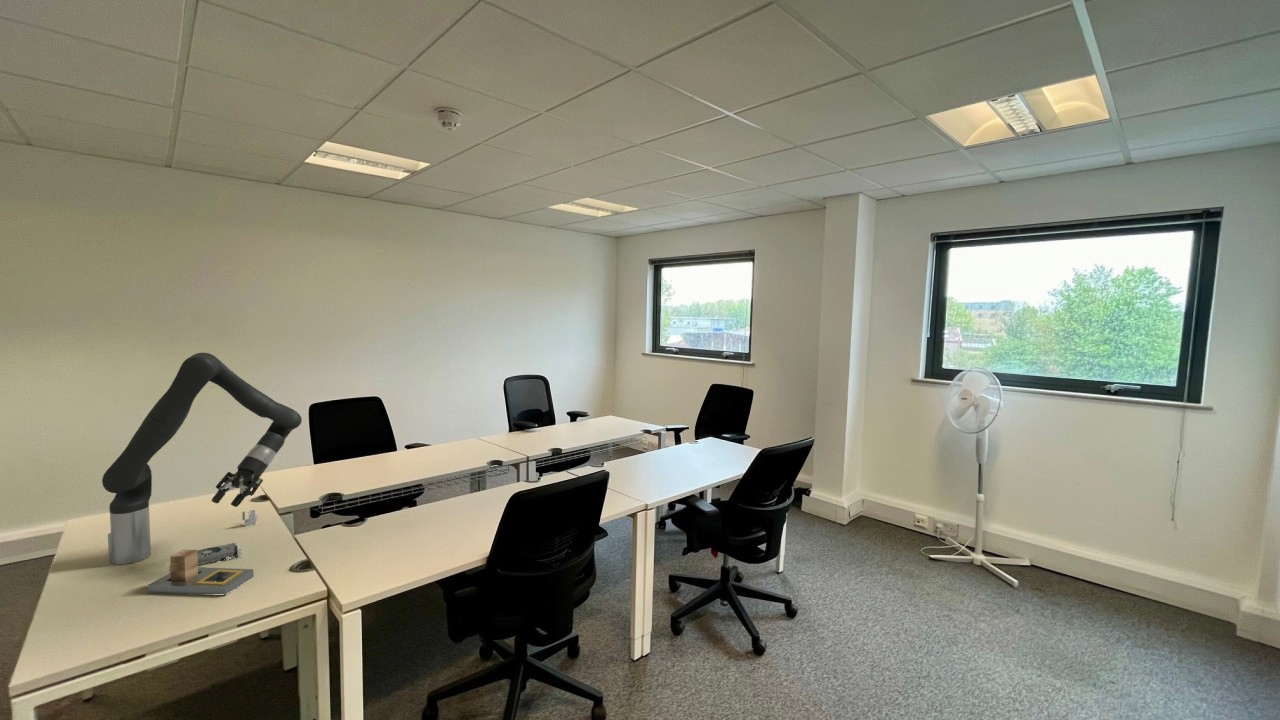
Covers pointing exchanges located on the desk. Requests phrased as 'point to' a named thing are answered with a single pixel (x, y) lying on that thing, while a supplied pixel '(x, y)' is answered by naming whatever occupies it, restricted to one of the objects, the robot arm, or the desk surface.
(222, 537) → the desk surface
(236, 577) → the square hole plate
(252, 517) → the small white bracket
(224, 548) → the graphics card
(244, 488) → the robot arm
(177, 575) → the peg
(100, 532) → the desk surface
